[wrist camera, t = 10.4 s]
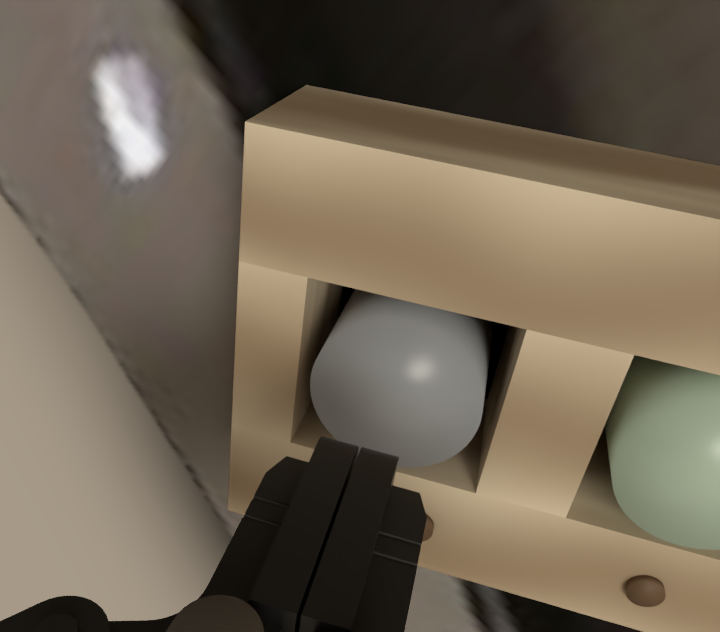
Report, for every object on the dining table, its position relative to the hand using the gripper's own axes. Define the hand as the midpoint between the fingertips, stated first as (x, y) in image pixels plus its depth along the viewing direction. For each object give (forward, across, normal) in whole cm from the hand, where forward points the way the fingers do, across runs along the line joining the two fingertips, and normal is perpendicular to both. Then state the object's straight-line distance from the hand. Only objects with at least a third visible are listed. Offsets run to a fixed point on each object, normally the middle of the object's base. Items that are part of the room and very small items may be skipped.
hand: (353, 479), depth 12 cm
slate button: (+6, 0, 0) cm, 6 cm away
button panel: (+7, -7, 0) cm, 10 cm away
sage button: (+6, -7, 0) cm, 9 cm away
